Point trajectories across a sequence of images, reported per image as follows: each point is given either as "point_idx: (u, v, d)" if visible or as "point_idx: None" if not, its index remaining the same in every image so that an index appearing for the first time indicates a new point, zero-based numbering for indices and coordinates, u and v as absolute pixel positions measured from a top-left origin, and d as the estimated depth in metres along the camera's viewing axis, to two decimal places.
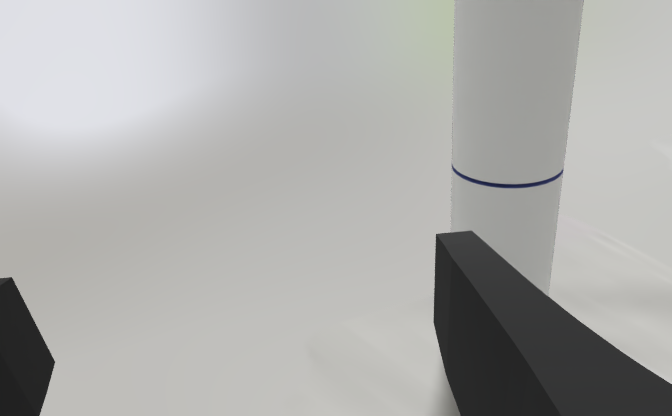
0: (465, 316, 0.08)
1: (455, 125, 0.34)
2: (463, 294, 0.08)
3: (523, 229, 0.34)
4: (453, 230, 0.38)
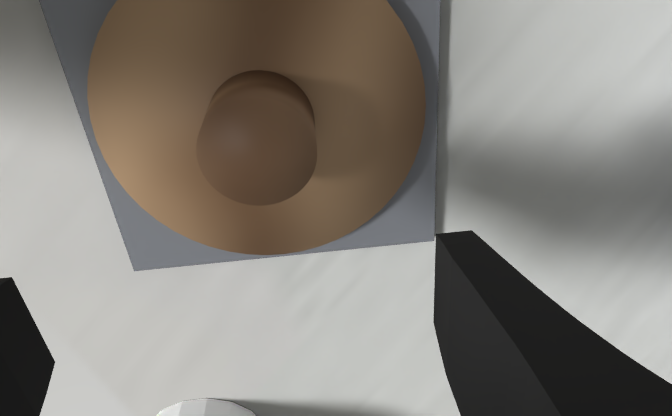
0: (465, 316, 0.08)
1: None
2: (463, 294, 0.08)
3: None
4: None
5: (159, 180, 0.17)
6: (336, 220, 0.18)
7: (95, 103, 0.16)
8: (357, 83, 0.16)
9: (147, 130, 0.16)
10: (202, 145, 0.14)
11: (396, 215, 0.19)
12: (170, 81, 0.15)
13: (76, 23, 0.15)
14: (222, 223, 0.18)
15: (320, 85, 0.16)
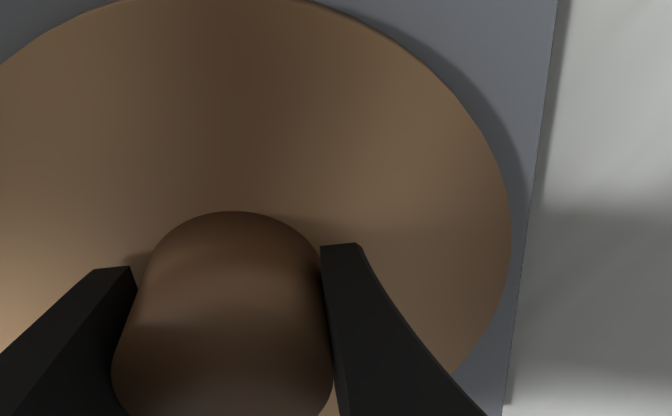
0: (330, 330, 0.08)
1: None
2: (327, 308, 0.08)
3: None
4: None
5: None
6: None
7: None
8: (398, 226, 0.09)
9: (47, 302, 0.10)
10: (122, 373, 0.08)
11: None
12: (78, 232, 0.09)
13: None
14: None
15: (336, 231, 0.09)
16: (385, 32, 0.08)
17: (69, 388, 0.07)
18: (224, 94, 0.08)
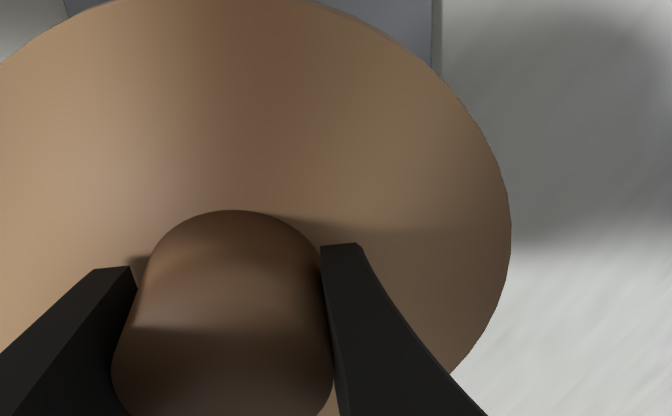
0: (330, 330, 0.08)
1: None
2: (327, 308, 0.08)
3: None
4: None
5: None
6: None
7: None
8: (398, 225, 0.09)
9: (47, 301, 0.10)
10: (122, 372, 0.08)
11: None
12: (79, 230, 0.09)
13: None
14: None
15: (335, 230, 0.09)
16: None
17: (69, 388, 0.07)
18: (224, 93, 0.08)
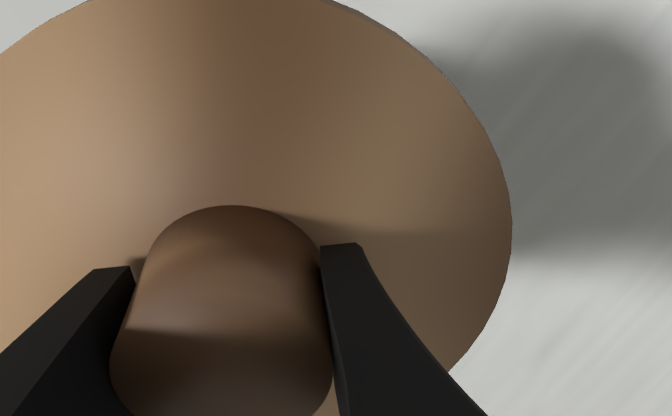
0: (330, 330, 0.08)
1: None
2: (327, 308, 0.08)
3: None
4: None
5: None
6: None
7: None
8: (399, 222, 0.09)
9: (44, 295, 0.10)
10: (120, 367, 0.08)
11: None
12: (77, 224, 0.09)
13: None
14: None
15: (336, 227, 0.09)
16: None
17: (69, 388, 0.07)
18: (227, 87, 0.08)
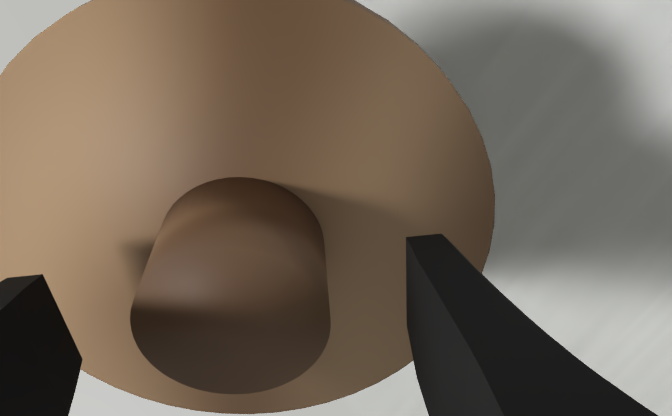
0: (430, 320, 0.08)
1: None
2: (428, 298, 0.08)
3: None
4: None
5: (90, 326, 0.11)
6: (352, 371, 0.13)
7: None
8: (391, 195, 0.10)
9: (66, 260, 0.10)
10: (140, 317, 0.08)
11: None
12: (99, 194, 0.10)
13: None
14: None
15: (333, 198, 0.10)
16: None
17: None
18: (236, 67, 0.09)
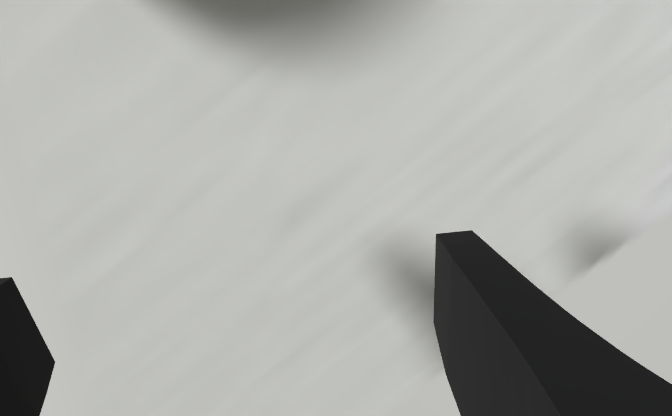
0: (465, 316, 0.08)
1: None
2: (463, 294, 0.08)
3: None
4: None
5: None
6: None
7: None
8: None
9: None
10: None
11: None
12: None
13: None
14: None
15: None
16: None
17: None
18: None
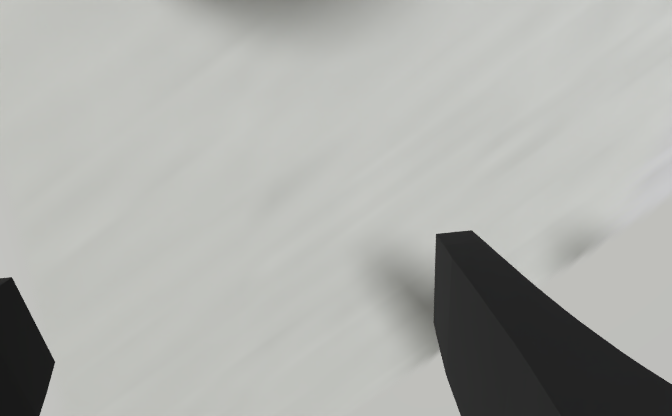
0: (465, 316, 0.08)
1: None
2: (463, 294, 0.08)
3: None
4: None
5: None
6: None
7: None
8: None
9: None
10: None
11: None
12: None
13: None
14: None
15: None
16: None
17: None
18: None
